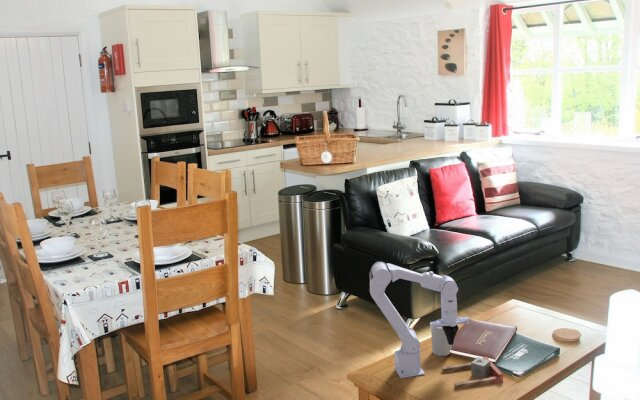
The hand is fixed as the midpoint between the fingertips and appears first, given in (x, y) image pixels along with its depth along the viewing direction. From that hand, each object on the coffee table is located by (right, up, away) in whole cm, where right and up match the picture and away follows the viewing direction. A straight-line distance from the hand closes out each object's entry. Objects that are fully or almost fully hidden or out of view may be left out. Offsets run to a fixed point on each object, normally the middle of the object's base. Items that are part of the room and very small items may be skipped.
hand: (450, 343), depth 228 cm
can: (0, -7, +15) cm, 16 cm away
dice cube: (+10, -10, -4) cm, 15 cm away
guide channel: (+6, -11, -5) cm, 13 cm away
